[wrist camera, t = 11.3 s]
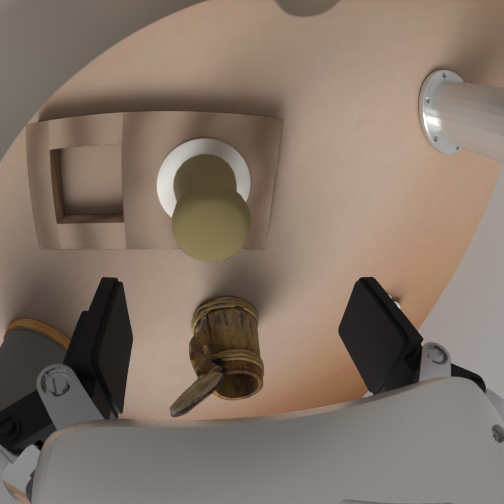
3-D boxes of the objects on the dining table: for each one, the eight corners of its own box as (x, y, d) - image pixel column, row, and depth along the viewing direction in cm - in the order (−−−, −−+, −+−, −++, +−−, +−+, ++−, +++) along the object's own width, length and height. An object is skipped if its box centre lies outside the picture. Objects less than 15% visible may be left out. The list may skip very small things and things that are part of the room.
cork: (228, 218, 29) (249, 281, 19) (168, 209, 27) (158, 270, 18) (243, 160, 26) (274, 195, 17) (179, 148, 24) (171, 176, 15)
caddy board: (275, 117, 27) (284, 119, 25) (259, 239, 34) (265, 250, 31) (37, 122, 22) (24, 125, 19) (48, 239, 28) (38, 250, 26)
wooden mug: (201, 262, 34) (218, 391, 18) (269, 319, 40) (310, 428, 25) (153, 304, 35) (145, 430, 20) (223, 351, 42) (245, 459, 27)
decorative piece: (21, 301, 31) (-47, 486, 5) (101, 359, 38) (87, 543, 13) (-1, 346, 33) (-45, 487, 8) (65, 391, 41) (49, 532, 15)
